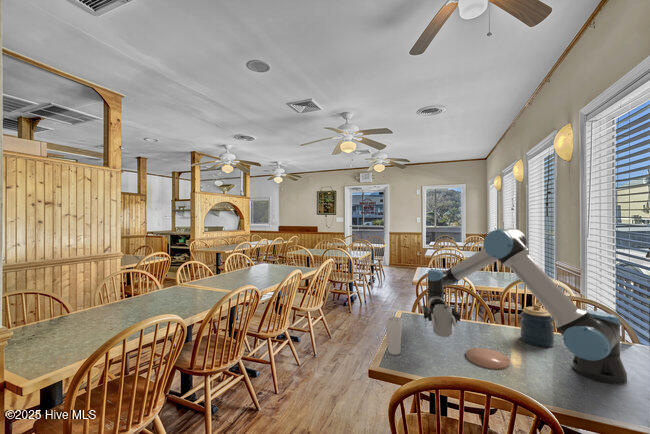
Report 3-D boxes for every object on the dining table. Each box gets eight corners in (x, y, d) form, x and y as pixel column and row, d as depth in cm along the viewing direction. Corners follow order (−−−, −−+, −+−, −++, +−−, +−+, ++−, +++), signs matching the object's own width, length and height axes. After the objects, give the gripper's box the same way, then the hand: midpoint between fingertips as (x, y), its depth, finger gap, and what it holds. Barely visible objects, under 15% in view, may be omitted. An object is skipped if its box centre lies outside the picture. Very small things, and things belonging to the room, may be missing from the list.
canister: (561, 348, 131) (560, 309, 131) (530, 347, 133) (529, 308, 133) (542, 336, 144) (542, 300, 144) (514, 335, 146) (514, 300, 146)
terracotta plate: (519, 364, 118) (519, 362, 118) (489, 372, 112) (489, 369, 112) (485, 347, 133) (485, 345, 133) (457, 353, 127) (457, 351, 127)
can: (455, 337, 121) (454, 308, 121) (437, 337, 121) (436, 308, 121) (448, 330, 128) (447, 303, 128) (430, 330, 128) (430, 303, 128)
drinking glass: (389, 347, 134) (389, 315, 134) (404, 351, 130) (403, 317, 130) (384, 354, 128) (384, 319, 128) (399, 357, 124) (399, 322, 124)
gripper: (460, 315, 139) (471, 334, 117) (415, 312, 144) (418, 329, 122) (460, 299, 139) (471, 315, 117) (415, 297, 144) (418, 312, 122)
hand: (444, 322), depth 120 cm, fingers closed on can, 7 cm apart
